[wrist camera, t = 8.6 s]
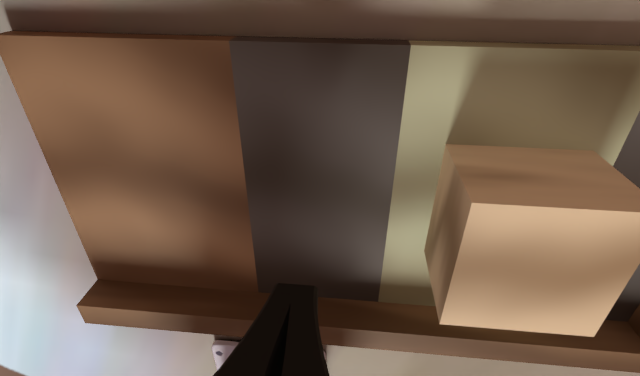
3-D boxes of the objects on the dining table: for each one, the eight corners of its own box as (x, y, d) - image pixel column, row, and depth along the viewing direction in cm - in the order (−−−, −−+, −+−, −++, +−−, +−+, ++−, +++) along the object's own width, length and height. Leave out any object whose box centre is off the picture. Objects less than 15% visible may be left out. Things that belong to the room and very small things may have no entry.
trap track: (633, 326, 22) (669, 375, 19) (114, 284, 24) (85, 322, 22) (824, 50, 14) (931, 71, 11) (11, 30, 16) (-55, 44, 14)
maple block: (546, 259, 18) (593, 337, 15) (424, 250, 19) (439, 324, 15) (593, 150, 15) (670, 214, 12) (445, 143, 16) (471, 202, 12)
